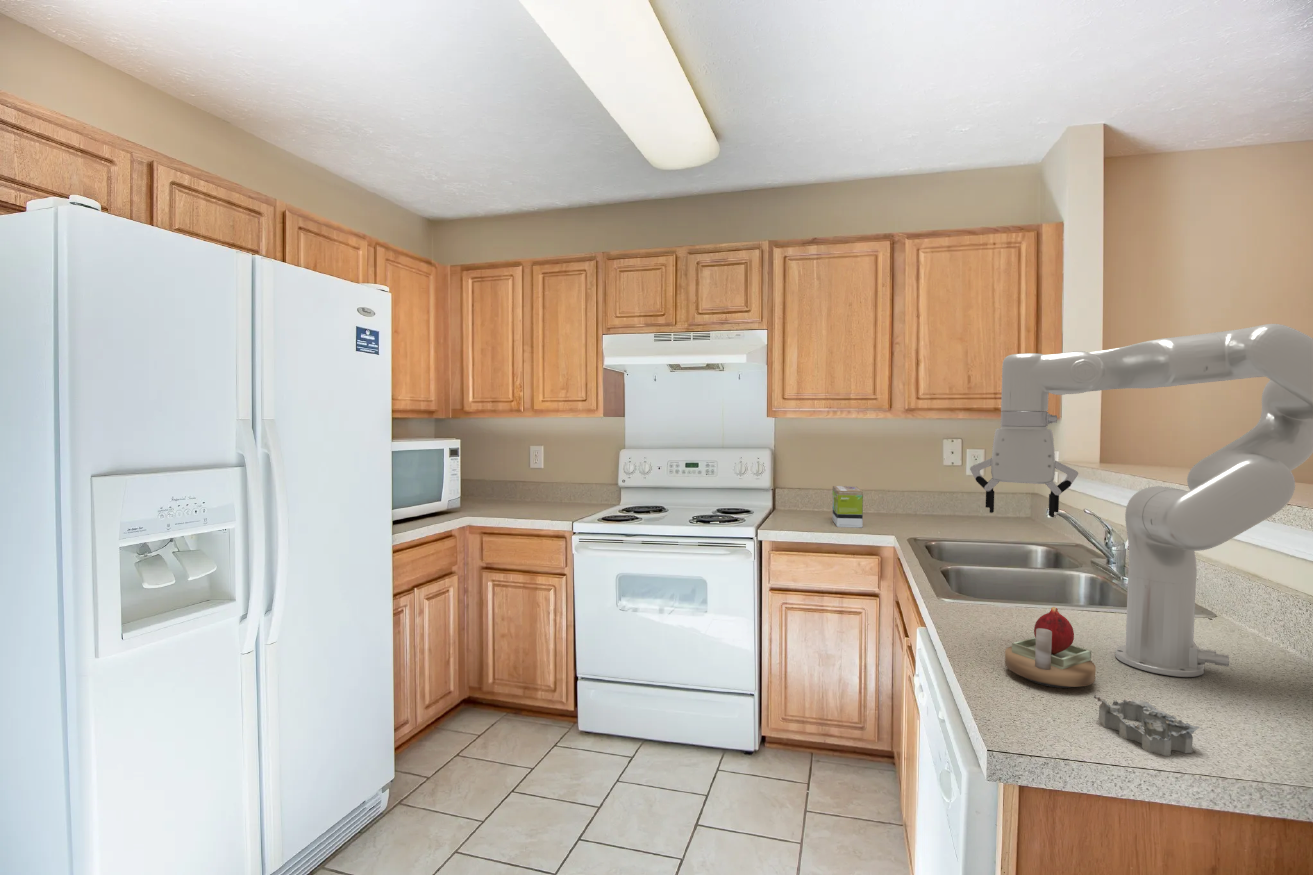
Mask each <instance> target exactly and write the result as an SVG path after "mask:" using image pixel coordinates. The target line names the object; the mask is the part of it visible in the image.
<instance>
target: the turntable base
mask: <svg viewBox="0 0 1313 875" xmlns="http://www.w3.org/2000/svg"><path fill="white" fill-rule="evenodd" d="M1023 678H1025V677H1023ZM1025 679H1026V680H1028V681H1030V682H1031V683H1035V684H1038V685H1042V686H1045V687H1050V688H1057V689H1069V688H1071V687H1070V686H1059V685H1052V684H1047V683H1042V682H1038V681H1034V680H1031V679H1028V678H1025Z"/></svg>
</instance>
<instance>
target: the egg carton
mask: <svg viewBox="0 0 1313 875" xmlns="http://www.w3.org/2000/svg"><path fill="white" fill-rule="evenodd" d="M1093 699H1096V700H1097V702H1101V704H1100V705H1099V709H1098V721H1099V722H1098V723H1099V725H1100V726H1101V727H1103V728H1106V729H1107V728H1109V729H1113V730H1116V731H1118V733H1119V737H1121V738H1124V739H1126V740H1131V741H1135V742H1138V743H1141V749H1143V750H1144V751H1146V752H1148V753H1155V754H1159V755H1162V756H1164V757H1165V756H1166V757H1167V756H1171V752H1172V751H1177V752H1181V753H1185V754H1193V740H1194V738H1193V734H1195V732H1196V731H1198V729H1199V728H1200V725H1199V726H1196V725H1195V726H1194V725H1191V724H1190V723H1188V722H1183V720H1182V719H1178V718H1177V717H1176V716H1175V715H1174V714H1172V715H1170V714H1168V713H1166V712H1165V711H1163V710H1159V709H1158V708H1156V707H1155V706H1154V705H1152V704H1151V703H1150V702H1148V701H1146V700H1138V699H1137V700H1135V699H1134V700H1126V699H1123V701H1120V702H1118V701H1117V699H1115V700H1113V702H1112V705H1111V704H1109V702H1107V701H1106V699H1105V698H1101V697H1100V696H1098V695H1097V694H1094V695H1093ZM1124 718H1125V719H1128V720H1131V721H1139V722H1141V724H1137V725H1136V724H1131V723H1126V722H1125V721H1124Z"/></svg>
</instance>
